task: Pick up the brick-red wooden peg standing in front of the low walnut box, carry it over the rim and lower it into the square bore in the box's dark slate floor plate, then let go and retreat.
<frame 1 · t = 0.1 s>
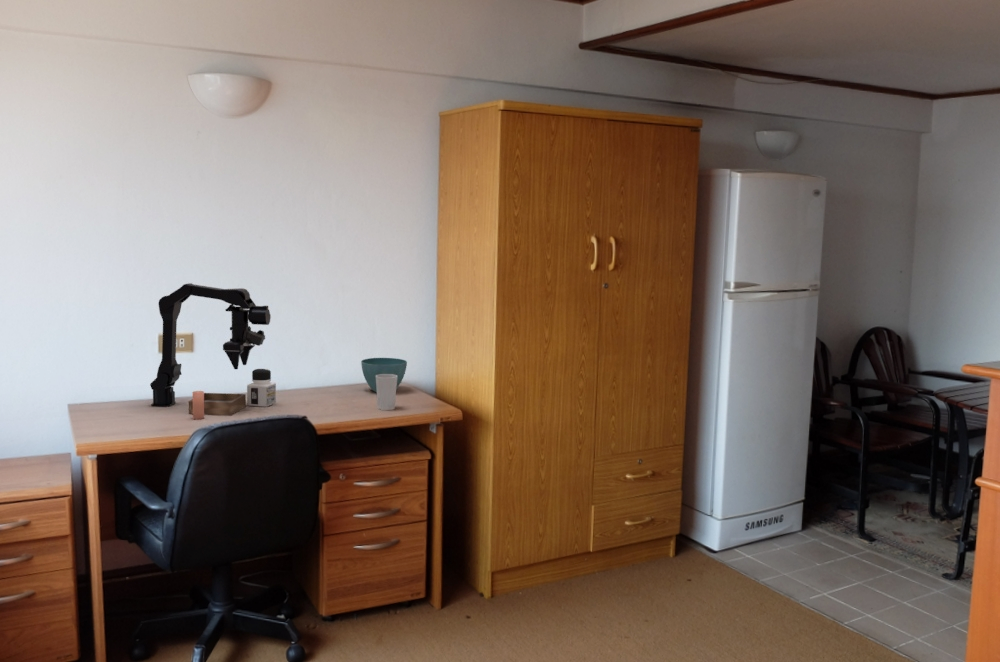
hand: (240, 367, 308), 15 cm above the table, fingers open, 9 cm apart
teal bowl: (383, 391, 347), on the table
container: (261, 404, 316), on the table
peg: (198, 418, 291), on the table
box: (217, 410, 304), on the table
cup: (386, 408, 315), on the table
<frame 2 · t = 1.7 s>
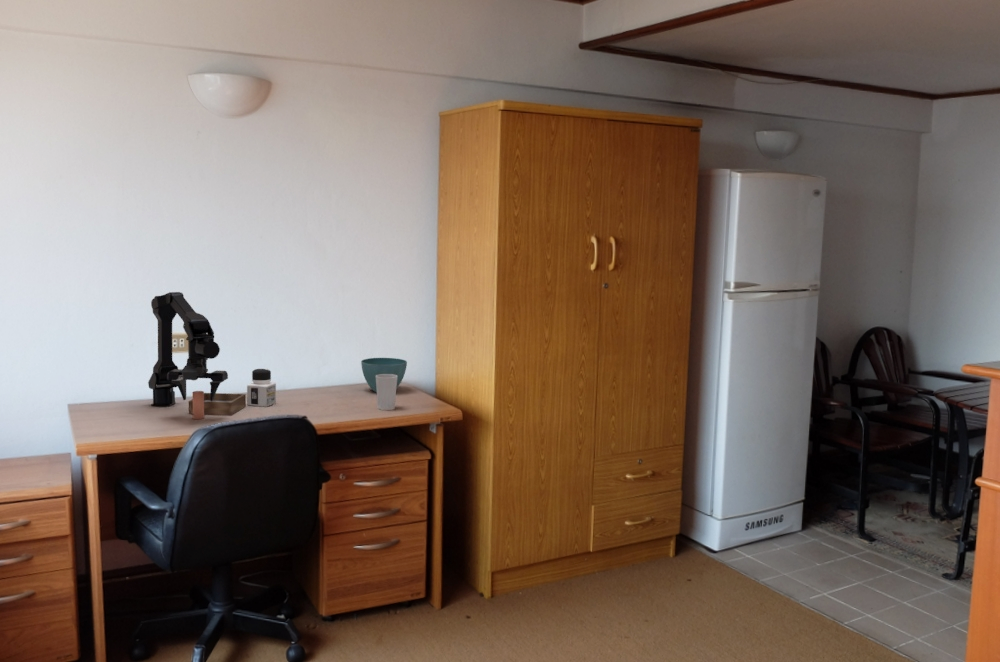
hand: (198, 400, 290), 6 cm above the table, fingers open, 9 cm apart
nothing on the table moved.
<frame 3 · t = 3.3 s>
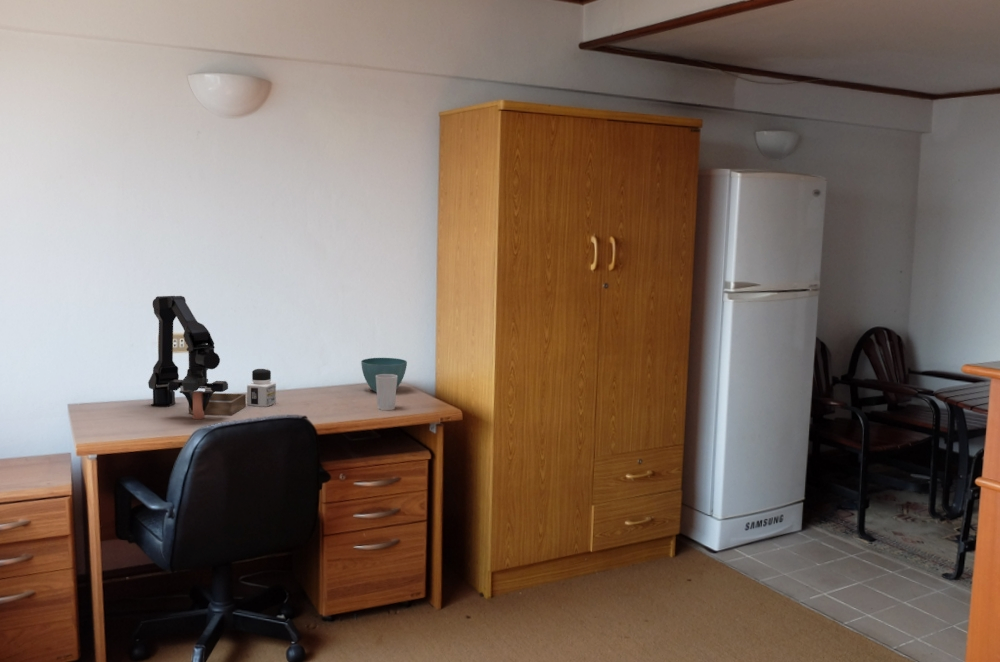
hand: (198, 410, 291), 3 cm above the table, fingers closed on peg, 4 cm apart
peg: (198, 418, 291), on the table, touching gripper
everything else where it was.
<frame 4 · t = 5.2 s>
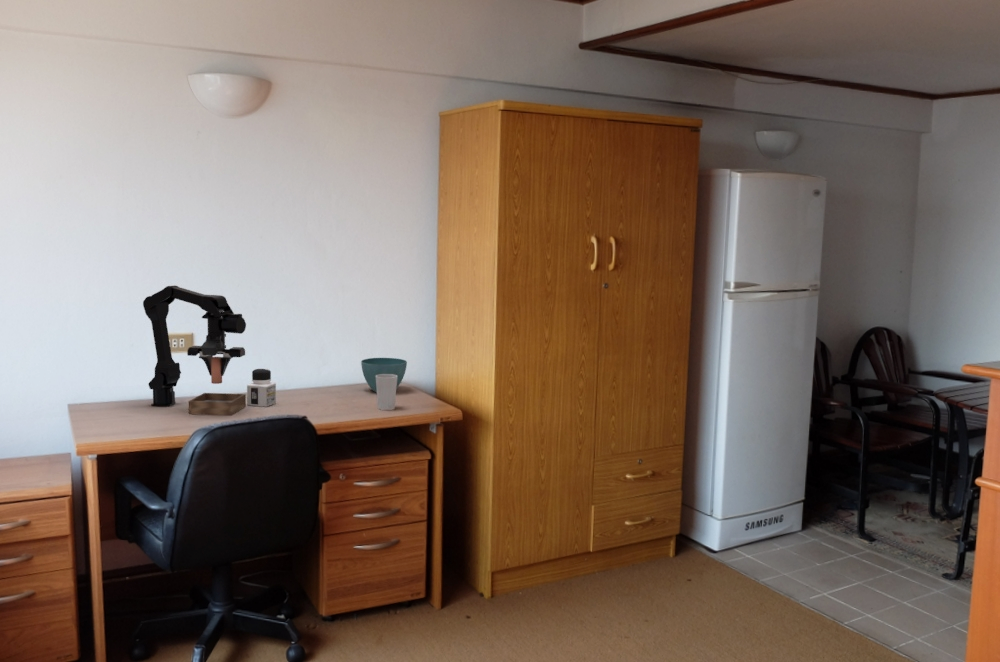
hand: (216, 375, 302), 12 cm above the table, fingers closed on peg, 4 cm apart
peg: (216, 382, 302), point 10 cm above the table, touching gripper
everything else where it was.
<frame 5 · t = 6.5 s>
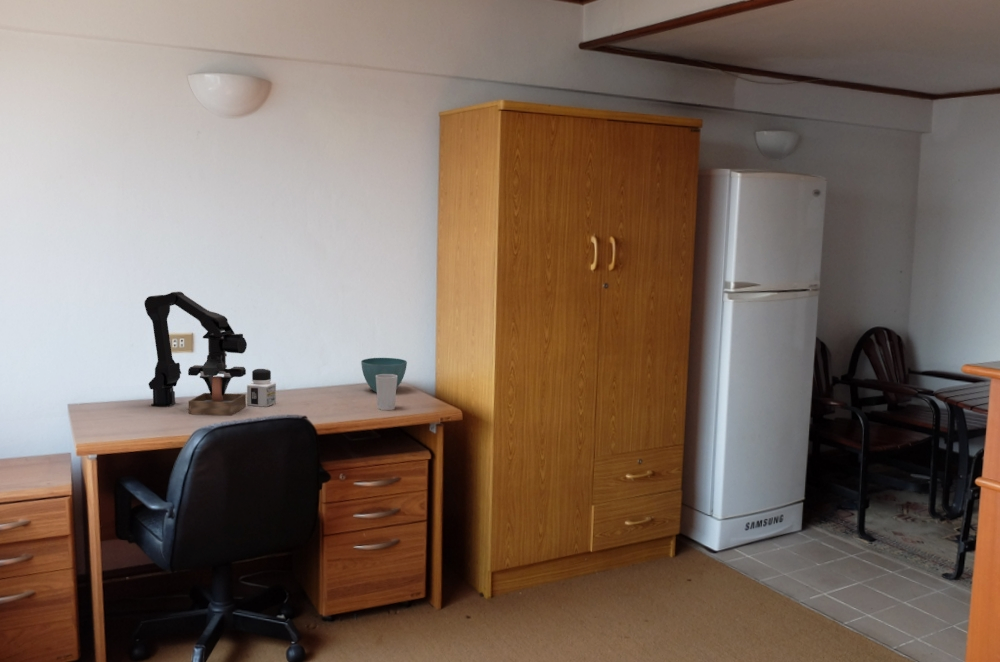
hand: (217, 395, 303), 5 cm above the table, fingers closed on peg, 4 cm apart
peg: (217, 402, 304), point 3 cm above the table, touching gripper
everything else where it was.
when the fingers open (3 cm above the table, at t = 7.5 s): peg stays where it is, resting in box.
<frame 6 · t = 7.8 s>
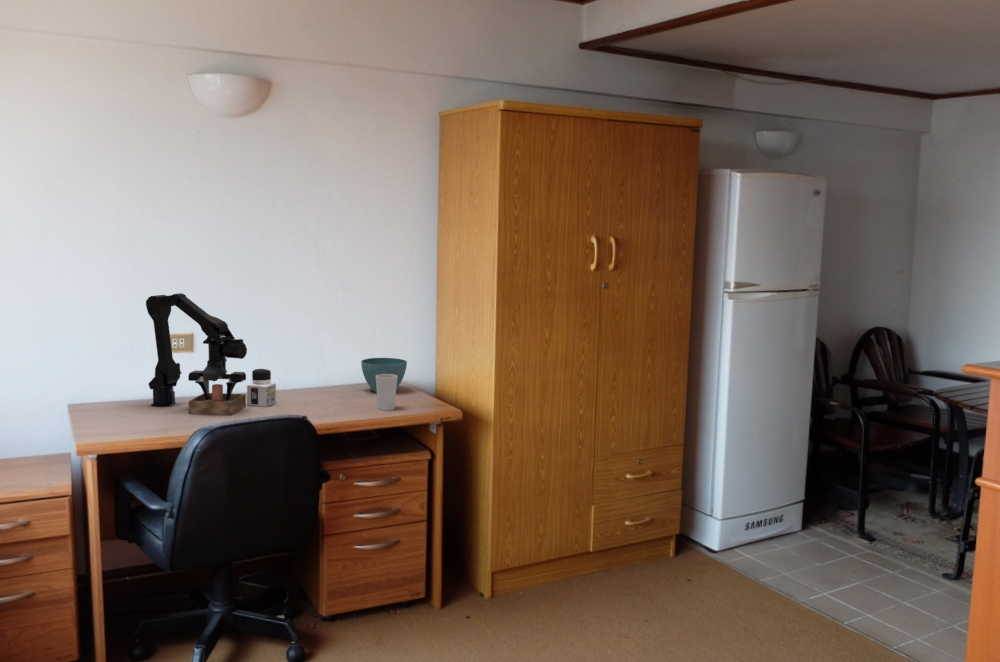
hand: (217, 400, 304), 3 cm above the table, fingers open, 7 cm apart
peg: (217, 410, 304), resting in box
everything else where it was.
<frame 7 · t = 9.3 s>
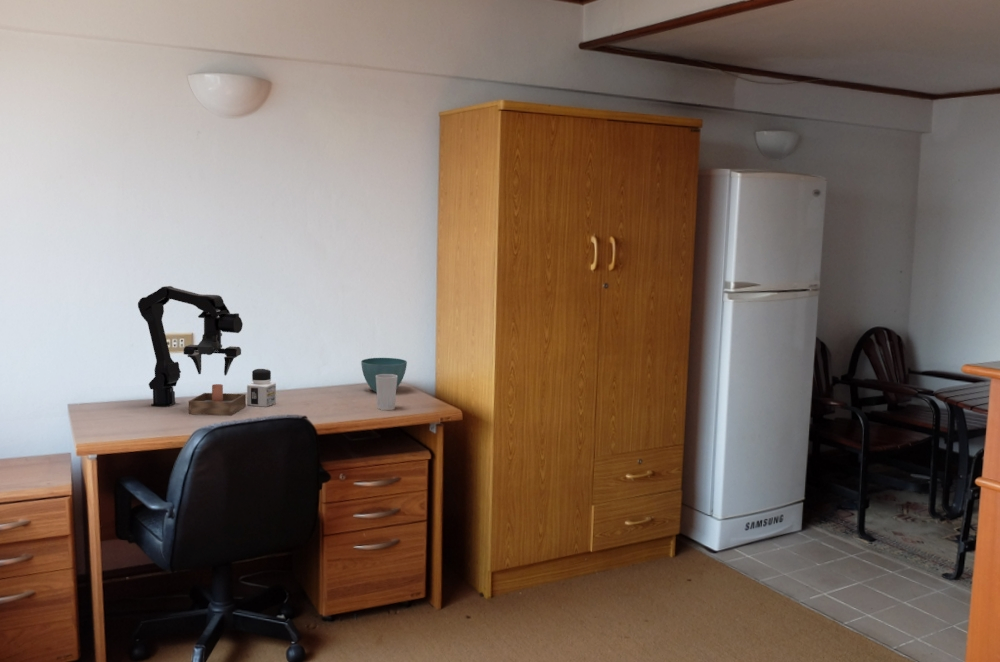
hand: (212, 374, 304), 12 cm above the table, fingers open, 9 cm apart
nothing on the table moved.
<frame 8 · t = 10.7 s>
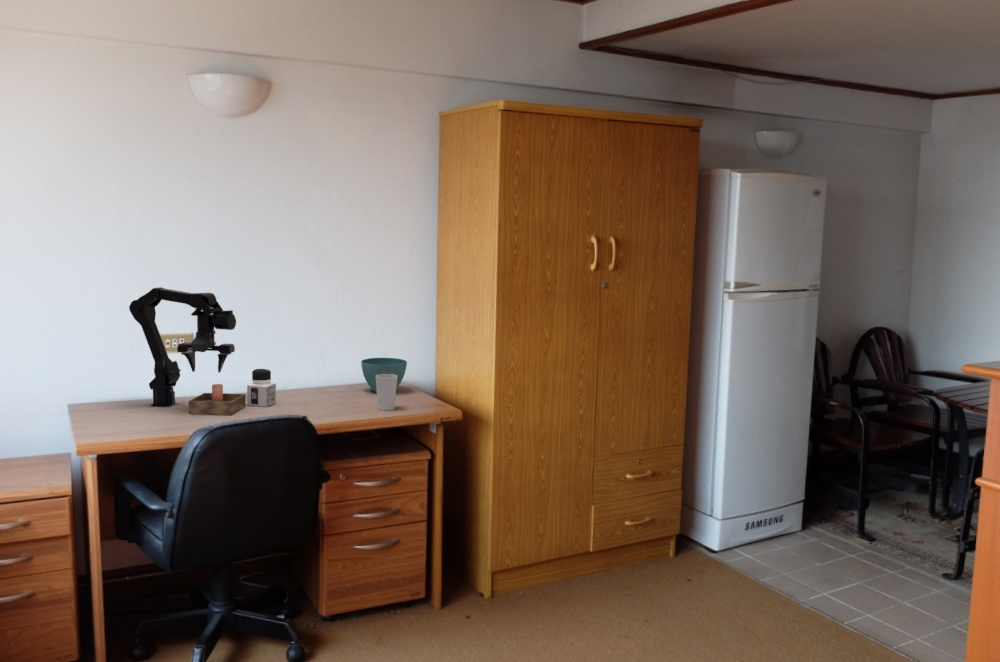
hand: (206, 372, 305), 13 cm above the table, fingers open, 9 cm apart
nothing on the table moved.
at the end: peg 0.1 cm off-centre on the box, point 0.0 cm above the box's base; peg tilted 0°; the gripper is holding nothing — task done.
